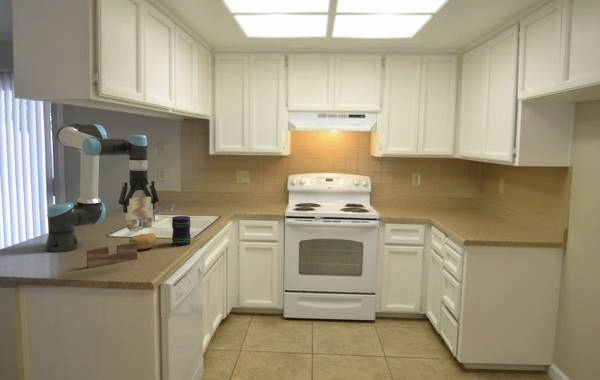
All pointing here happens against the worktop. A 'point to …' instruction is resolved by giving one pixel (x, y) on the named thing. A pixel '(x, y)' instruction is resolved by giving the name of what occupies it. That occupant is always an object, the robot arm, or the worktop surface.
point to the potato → (144, 240)
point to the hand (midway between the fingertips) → (139, 218)
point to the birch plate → (139, 212)
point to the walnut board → (103, 258)
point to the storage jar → (181, 230)
